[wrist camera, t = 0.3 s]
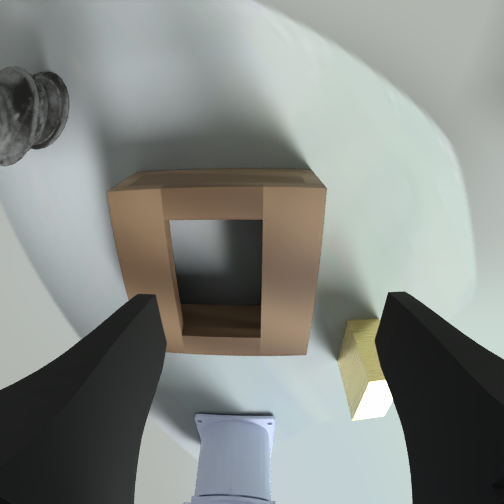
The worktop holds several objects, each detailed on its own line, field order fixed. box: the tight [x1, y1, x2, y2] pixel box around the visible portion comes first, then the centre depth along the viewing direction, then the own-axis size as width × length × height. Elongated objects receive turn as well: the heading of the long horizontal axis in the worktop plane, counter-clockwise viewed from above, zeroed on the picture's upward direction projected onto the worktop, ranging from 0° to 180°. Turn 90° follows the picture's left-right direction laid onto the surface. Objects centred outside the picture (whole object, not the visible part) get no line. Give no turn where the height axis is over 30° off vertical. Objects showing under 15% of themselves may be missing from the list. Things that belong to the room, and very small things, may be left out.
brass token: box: [338, 318, 393, 420], centre depth 20 cm, size 4×2×6 cm, turn 0°
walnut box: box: [107, 168, 327, 356], centre depth 17 cm, size 10×10×4 cm
